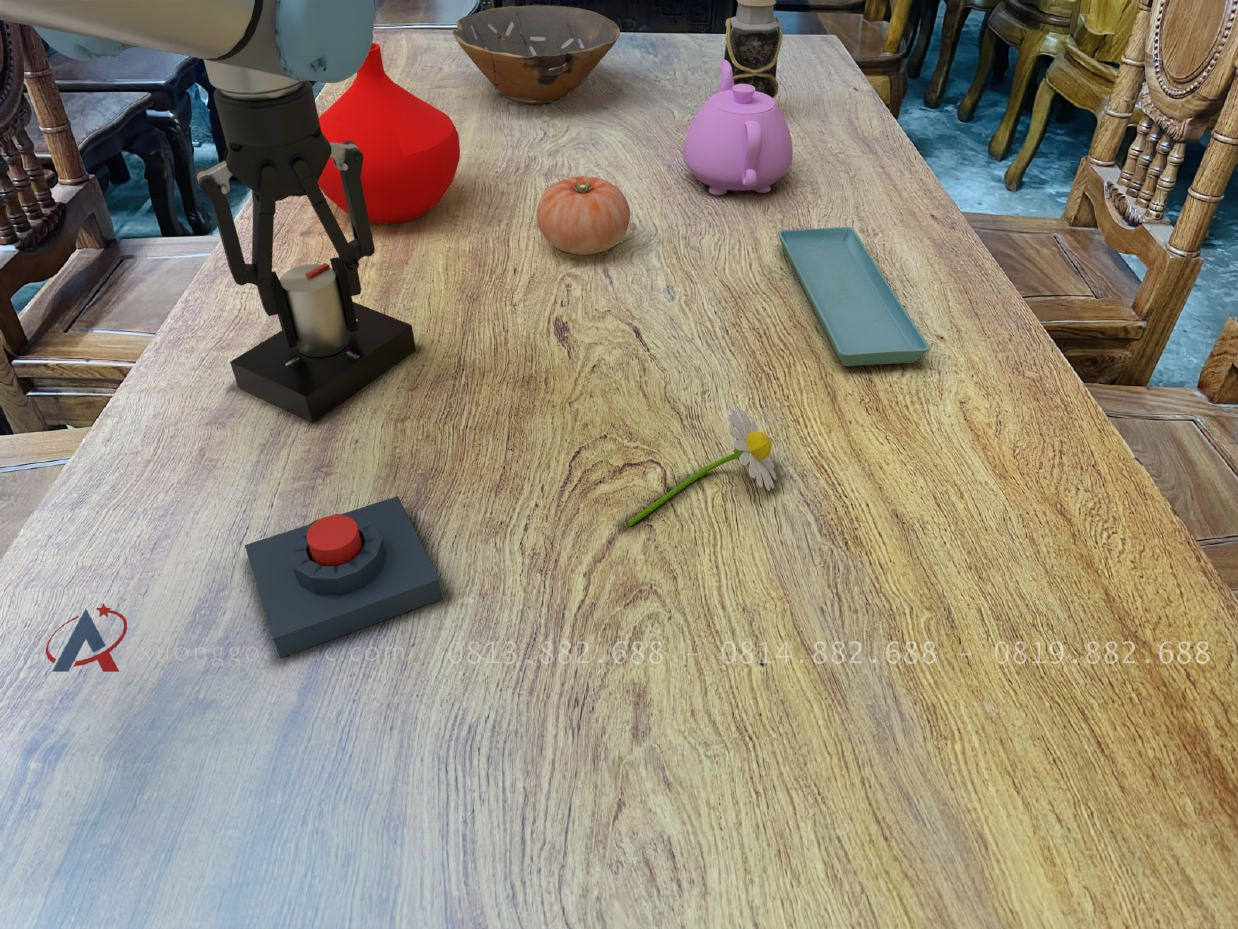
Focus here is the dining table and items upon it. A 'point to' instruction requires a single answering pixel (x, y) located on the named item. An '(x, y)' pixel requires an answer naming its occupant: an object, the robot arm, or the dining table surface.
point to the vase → (391, 146)
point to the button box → (342, 579)
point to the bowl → (536, 48)
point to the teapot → (738, 139)
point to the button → (334, 540)
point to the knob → (315, 310)
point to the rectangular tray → (852, 297)
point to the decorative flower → (746, 449)
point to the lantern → (754, 45)
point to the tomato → (583, 215)
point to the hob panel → (324, 366)
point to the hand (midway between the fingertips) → (320, 331)
